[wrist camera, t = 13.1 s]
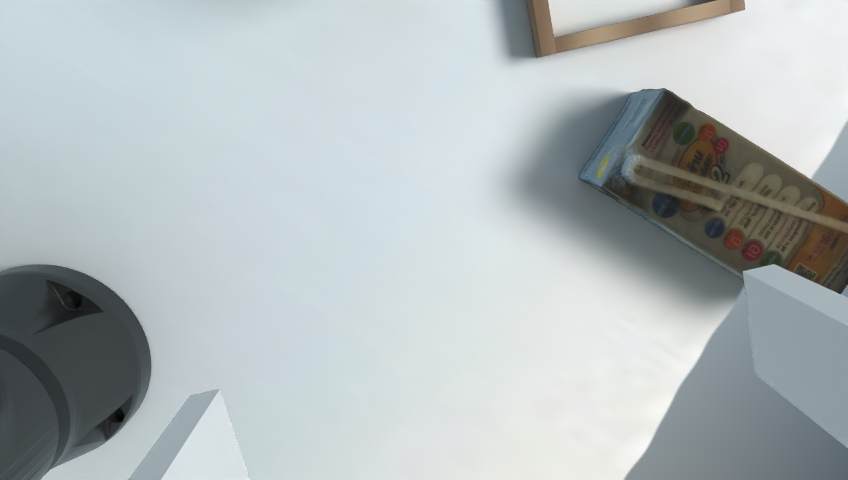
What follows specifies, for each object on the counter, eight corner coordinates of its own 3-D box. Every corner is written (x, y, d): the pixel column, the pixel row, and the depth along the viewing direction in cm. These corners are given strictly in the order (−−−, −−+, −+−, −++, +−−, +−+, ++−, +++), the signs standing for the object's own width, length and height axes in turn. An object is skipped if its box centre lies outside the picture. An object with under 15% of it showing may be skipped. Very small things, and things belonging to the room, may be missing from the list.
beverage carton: (633, 82, 45) (671, 80, 38) (836, 213, 47) (903, 232, 41) (572, 177, 46) (599, 190, 40) (773, 299, 49) (828, 329, 42)
